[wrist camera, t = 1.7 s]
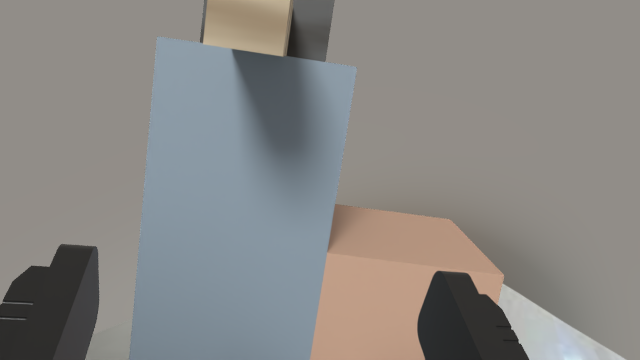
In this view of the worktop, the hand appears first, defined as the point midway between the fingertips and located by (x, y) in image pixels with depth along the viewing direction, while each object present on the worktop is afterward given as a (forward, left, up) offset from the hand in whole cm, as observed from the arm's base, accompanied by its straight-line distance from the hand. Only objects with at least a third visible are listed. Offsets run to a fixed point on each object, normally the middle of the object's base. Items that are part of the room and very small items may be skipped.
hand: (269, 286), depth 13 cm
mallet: (-2, +20, +5) cm, 20 cm away
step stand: (+3, +25, -27) cm, 37 cm away
